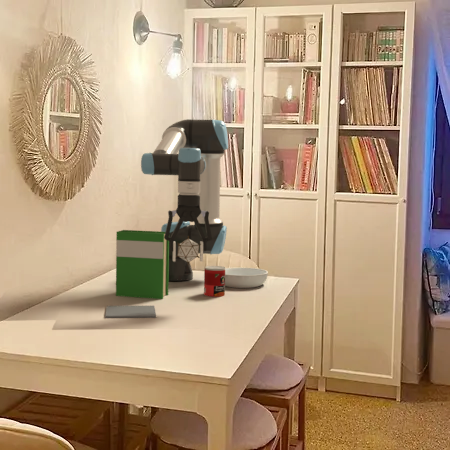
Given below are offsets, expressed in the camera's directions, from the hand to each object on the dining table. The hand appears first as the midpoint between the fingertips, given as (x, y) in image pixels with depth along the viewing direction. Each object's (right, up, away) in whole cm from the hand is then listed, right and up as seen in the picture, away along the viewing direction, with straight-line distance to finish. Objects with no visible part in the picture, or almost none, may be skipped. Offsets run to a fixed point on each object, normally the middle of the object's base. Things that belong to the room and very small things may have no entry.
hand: (187, 260), depth 240 cm
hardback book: (-18, -14, +21) cm, 31 cm away
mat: (-18, -17, -6) cm, 26 cm away
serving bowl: (+19, -13, +44) cm, 50 cm away
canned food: (+9, -15, +24) cm, 30 cm away
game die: (0, -2, 0) cm, 2 cm away
